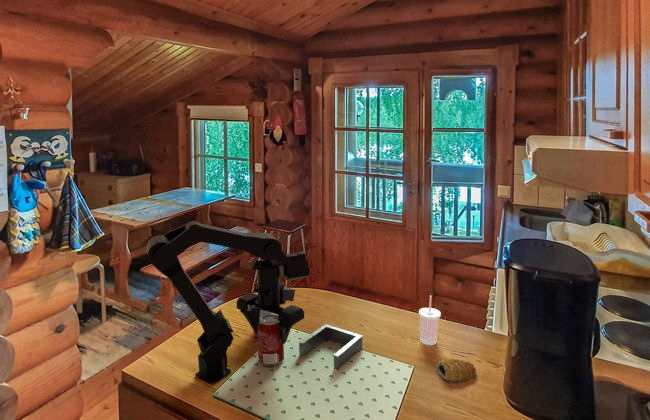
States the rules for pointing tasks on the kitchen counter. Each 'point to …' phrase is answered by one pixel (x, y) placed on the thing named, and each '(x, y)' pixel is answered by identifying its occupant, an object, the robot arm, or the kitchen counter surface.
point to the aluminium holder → (336, 335)
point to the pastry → (456, 370)
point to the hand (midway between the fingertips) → (270, 338)
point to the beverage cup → (429, 324)
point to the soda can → (269, 341)
